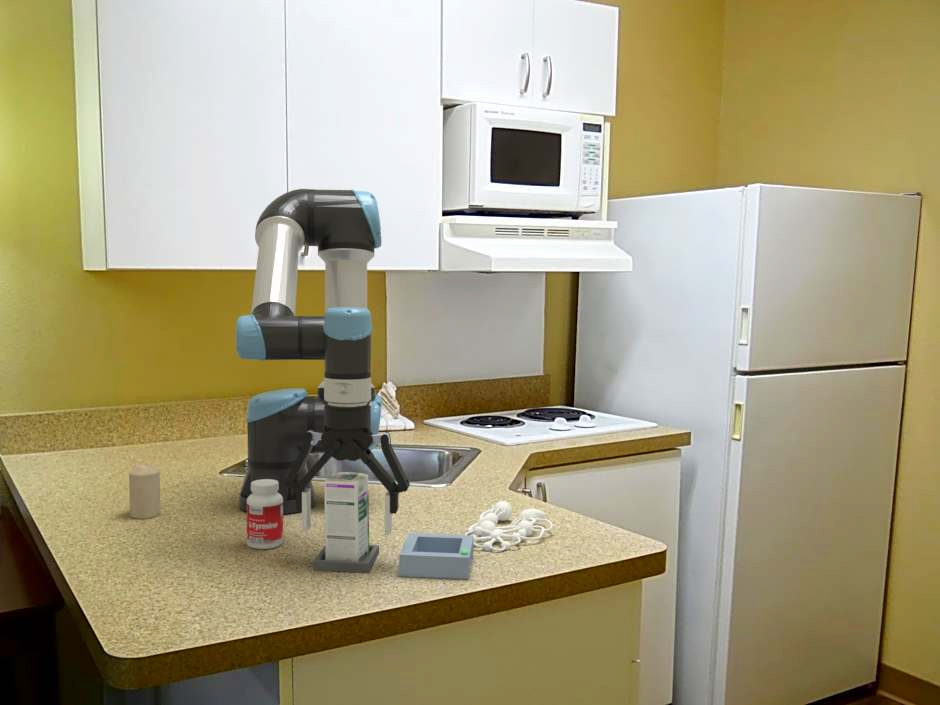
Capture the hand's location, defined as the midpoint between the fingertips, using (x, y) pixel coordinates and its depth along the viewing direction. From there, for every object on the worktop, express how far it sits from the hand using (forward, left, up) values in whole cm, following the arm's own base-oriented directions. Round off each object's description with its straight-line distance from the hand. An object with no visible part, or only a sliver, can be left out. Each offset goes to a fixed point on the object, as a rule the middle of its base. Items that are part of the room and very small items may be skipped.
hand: (347, 530), depth 138 cm
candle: (-44, +21, -6) cm, 49 cm away
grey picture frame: (0, 0, -5) cm, 5 cm away
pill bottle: (-16, +7, -5) cm, 18 cm away
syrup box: (0, 0, -6) cm, 6 cm away
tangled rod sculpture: (+26, +18, -6) cm, 32 cm away
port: (+15, 0, -5) cm, 16 cm away
